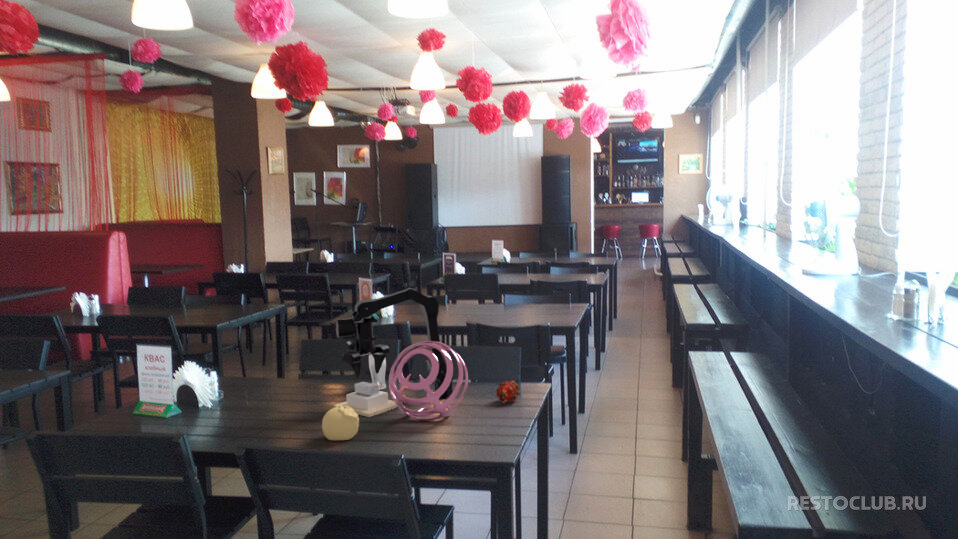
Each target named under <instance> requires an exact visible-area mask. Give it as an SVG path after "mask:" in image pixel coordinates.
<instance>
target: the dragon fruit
mask: <svg viewBox="0 0 958 539" xmlns="http://www.w3.org/2000/svg"><path fill="white" fill-rule="evenodd" d="M519 391H520V386H519V384H518V383H516V381H515V380H511V381H509V380H504V382H501V383H499V385H498V386H497V388H496V397H497V398H498V399H499V401H503V402H507V403H509V402H511V401H514V402H515V401H517V398H518V397H520V396H521V395H522V394H521V392H519Z"/></svg>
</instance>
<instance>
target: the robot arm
mask: <svg viewBox="0 0 958 539" xmlns="http://www.w3.org/2000/svg"><path fill="white" fill-rule="evenodd" d="M410 300H412V301H414V302H415V303H417V304H419V306H420V309H421V312H422V315H423V316H424V319H425V324H426V331H427V339H428V340H427V341H437V342H441V340H440V339H441V338H440V332H439V325H438V316H439V309H440V308H439V307H440V305H439V304H440V303H439V300H438V299H437V298H435V297H434V296H431V295H429V294H428V295H425V294H422V293H420V292H418V291H417V290H415V289H414V288H411V287H407V288H406V289H405V288H404V289H402V290H399V291H397V292H393V293H390V294H388V295H385V296H382V297H378V298H371V299H370V298H369V299H363V300H359V301H357V302H356V304H355V305H354V311H353V312H352V313H351V315H350V316H349V318H336V327H335V332H336V337H337V338H338V339H339V338H347V337H354V335H355V334H357V335H356V336H357V337H355V338H354V342H351V341H350V340H349V341H345V342H344V344H343V345H344V346H343V347H344V351H346V352H344V353H343V354H342V357H341V358H342V362H345V363H347V364H349V365H350V366H351V368H352V370H353V372H354V374H355V377H356V379H357V380H359V379H361V374H362V372H361V371H362V360H361V358H363V357H367V356H369V355H371V354H372V356H373V357H374V362H375V371H376V373H379V370H380V368H381V365H382V363H383V361H384V359H385V358H386V357H387V356H388V354H390V347H389V346H388V345H387V344H381V343H380V344H376V345H375V344H374V341H375V340H376V336H374V332H373V331H374V329H373V323H378V319H376V318H375V316H374V315H375V314H376V313H378V312H379V311H380V310H382V309H385V308H388V307H391V306H395V305H397V304H400V303H403V302H407V301H410ZM438 345H439V344H438ZM429 350H430V351H431V352H433V353H434V354H435V355H436V357H437V359H438V362H439V372H438V375H437V377H436V379H435V380H434V392H435V391H436V390H437V389H438V388H439V387H440V386H441V385H442V383H443V381H444V379H445V376H446V371H447V365H446V360H445V358H444V356H443V354H442V353H441V352H440V351H439V350H438V349H436V348H433V349H429ZM425 362H426V370H427V371H428V373H430V372H431V368H432V365H431V361H430V359H429V358H428V359H426V360H425ZM454 379H455V378H454V376H452V380H451V382H450V385H449V386H448V388H447V390H446V391H445V392H444V393H443V394H442V395H441V396H440V398H439V399H442V400H443V399H444V400H447V399H448V397H449V396H450V395H451V394H452V392H453V391H454V389H453V381H454Z"/></svg>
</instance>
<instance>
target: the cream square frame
mask: <svg viewBox="0 0 958 539" xmlns="http://www.w3.org/2000/svg"><path fill="white" fill-rule="evenodd" d="M345 397H346V398H345V399H346V401H344V402H340V403H337V404H334V405H333V408H335V407H336V406H337V405H343V406H349V407H351V408H352V409H354V411H355V412H356V413H357V414H358V416H359V415H360V416H364V417H367V418H371V416H372V417H374V415H375V416H377V415H379V414H383V413H386V412H389V411H391V409H392V410H395V409H397V408H399V407H398V406H397V405H396V403H395V402H394V400H391V399H389V392H386V391H380V390H379V394H378V395H375V396H372V397H371V396H369V397H366V396H362V395H358V394H357V393H355V391H354V392H350V393H348V394H346V395H345ZM396 407H397V408H396ZM394 408H395V409H394ZM388 410H389V411H388Z"/></svg>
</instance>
